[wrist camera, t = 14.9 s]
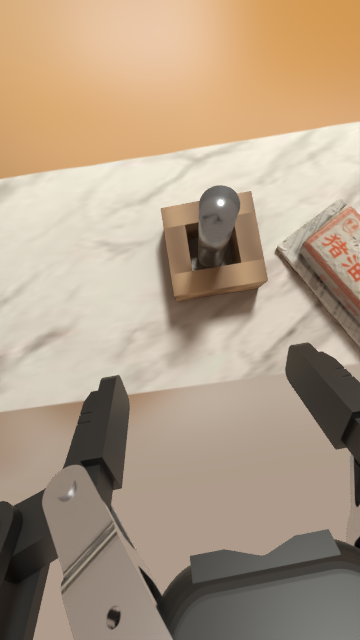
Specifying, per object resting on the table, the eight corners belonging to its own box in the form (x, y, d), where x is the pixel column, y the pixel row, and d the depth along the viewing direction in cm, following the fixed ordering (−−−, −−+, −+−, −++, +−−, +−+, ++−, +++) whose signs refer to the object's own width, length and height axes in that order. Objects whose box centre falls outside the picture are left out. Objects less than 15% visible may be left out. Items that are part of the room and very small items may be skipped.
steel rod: (200, 270, 30) (202, 228, 18) (196, 246, 31) (196, 189, 19) (225, 266, 30) (243, 220, 18) (221, 242, 30) (236, 181, 19)
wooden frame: (177, 301, 30) (174, 296, 26) (165, 224, 31) (160, 208, 27) (258, 288, 30) (267, 280, 26) (244, 209, 31) (251, 191, 27)
